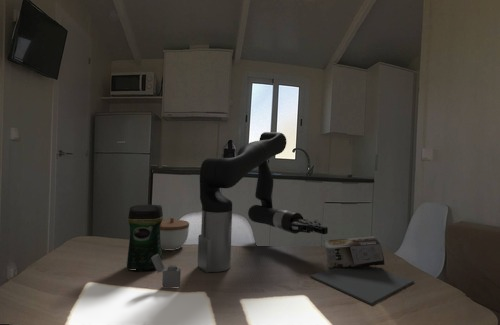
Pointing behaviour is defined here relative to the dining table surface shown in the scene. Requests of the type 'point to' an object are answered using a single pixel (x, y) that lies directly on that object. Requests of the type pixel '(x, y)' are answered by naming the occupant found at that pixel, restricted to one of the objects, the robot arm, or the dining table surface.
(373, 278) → the rubber mat
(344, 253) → the coffee box
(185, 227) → the lidded bowl
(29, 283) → the dining table surface
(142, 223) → the coffee jar
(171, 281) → the lighter
